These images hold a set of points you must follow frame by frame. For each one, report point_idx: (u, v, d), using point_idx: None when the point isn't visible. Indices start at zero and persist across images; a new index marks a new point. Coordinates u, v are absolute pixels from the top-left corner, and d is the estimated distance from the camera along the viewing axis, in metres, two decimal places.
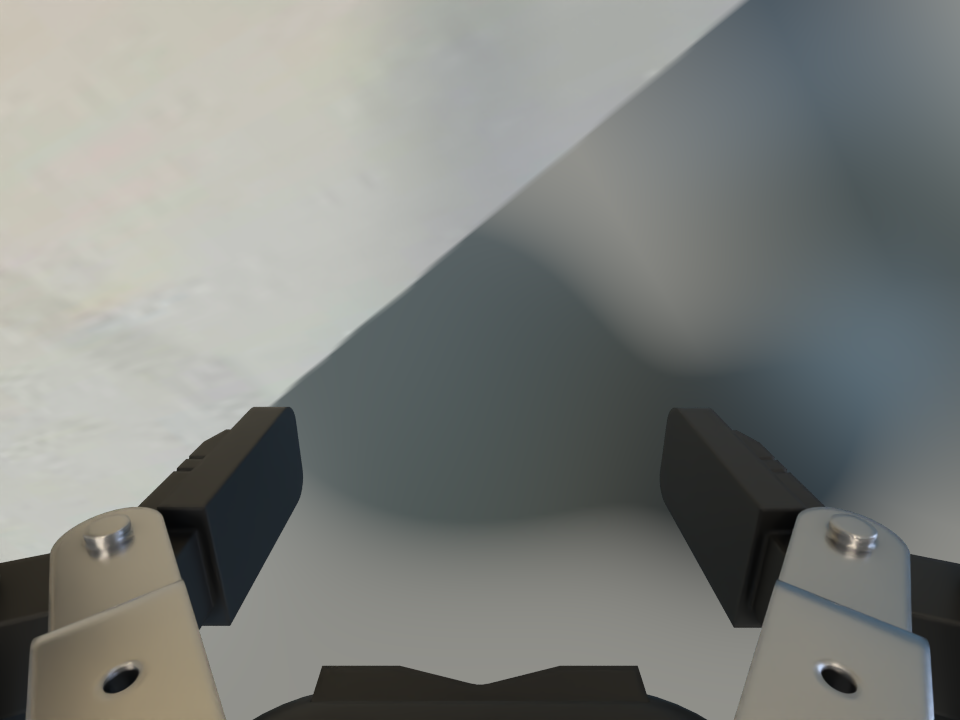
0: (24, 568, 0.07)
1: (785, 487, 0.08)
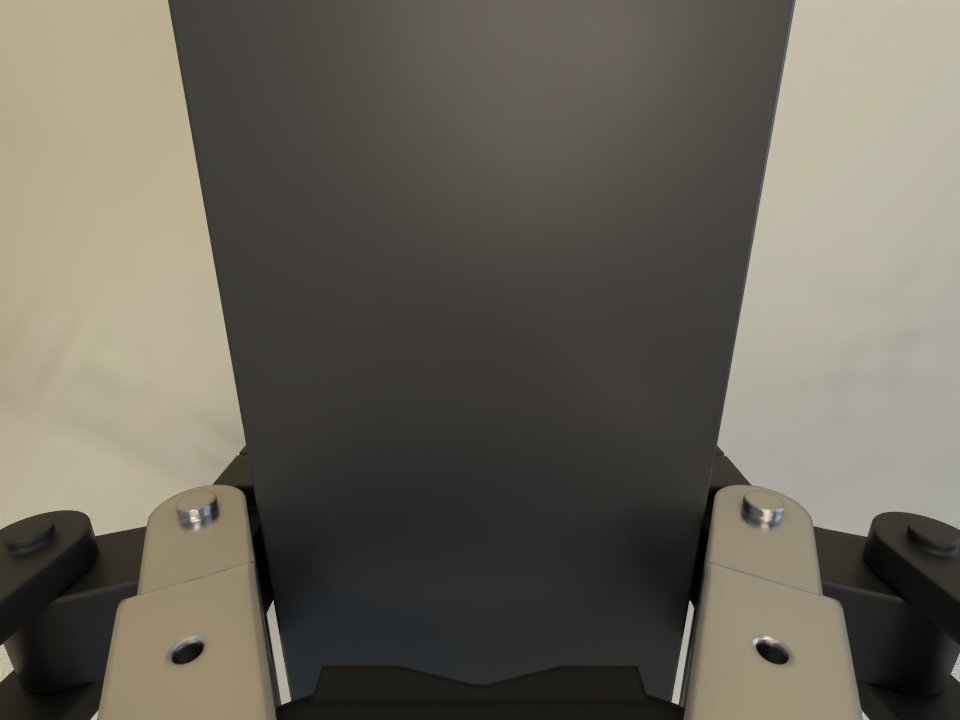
0: (117, 540, 0.07)
1: (713, 468, 0.08)
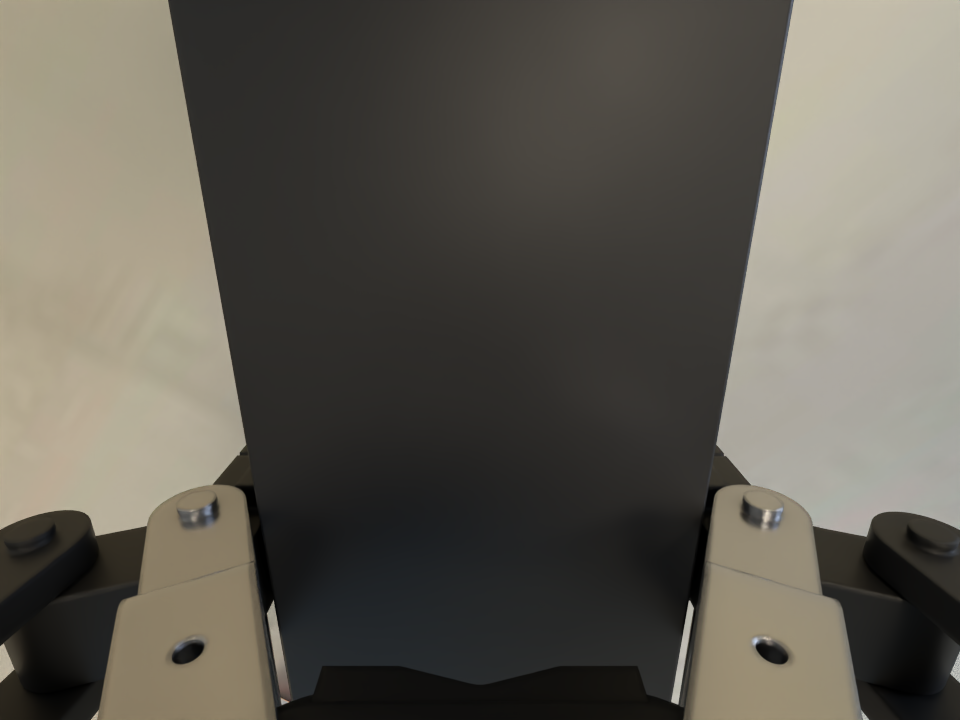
0: (117, 540, 0.07)
1: (712, 468, 0.08)
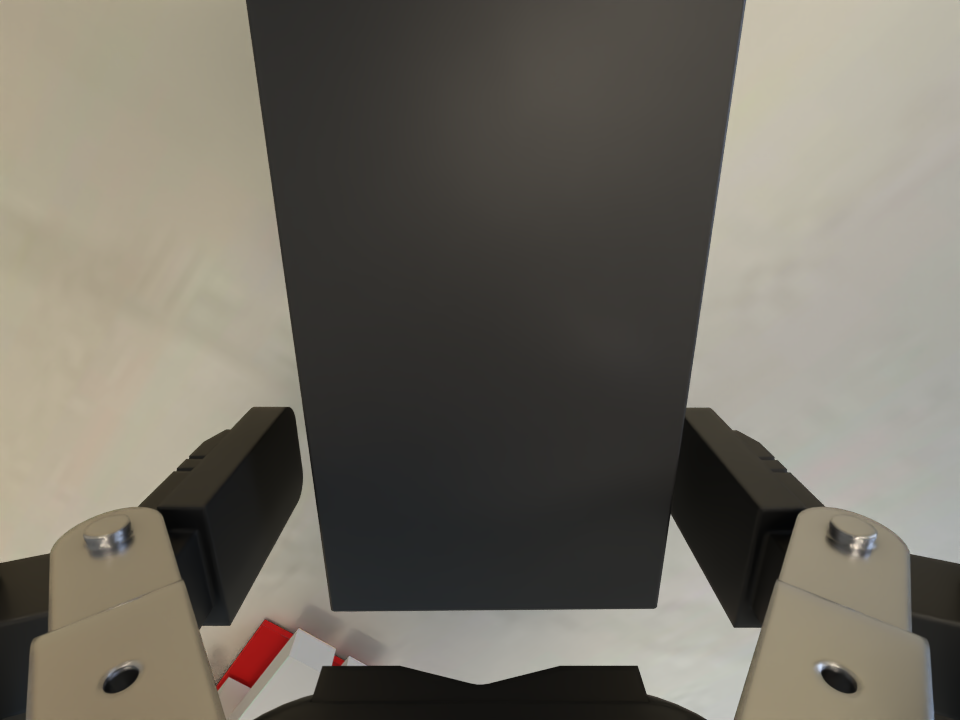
0: (24, 567, 0.07)
1: (785, 487, 0.08)
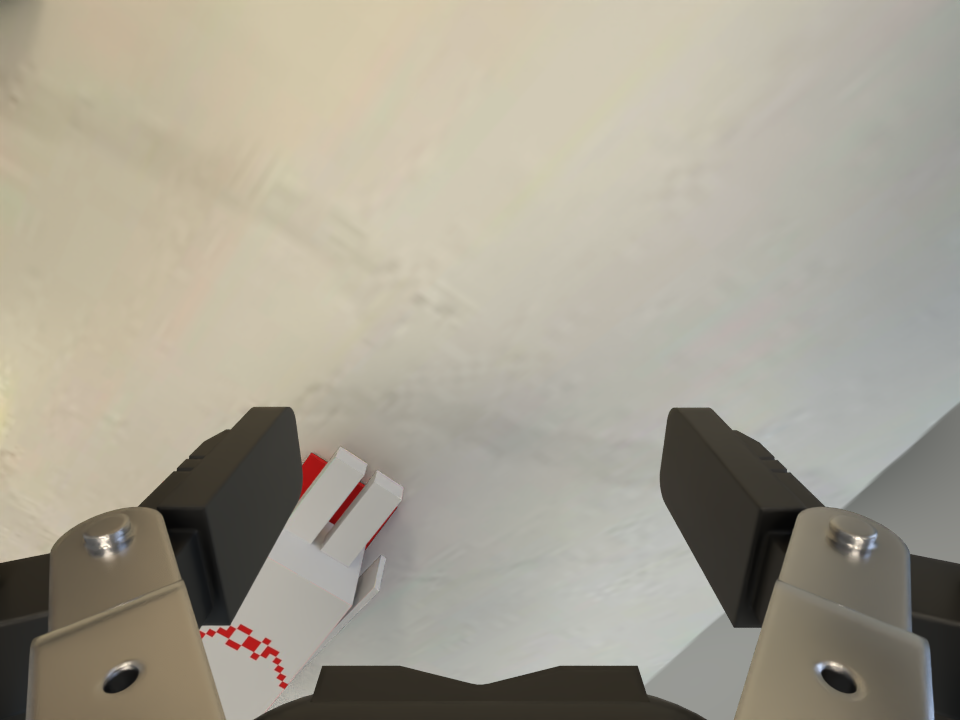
0: (24, 568, 0.07)
1: (785, 487, 0.08)
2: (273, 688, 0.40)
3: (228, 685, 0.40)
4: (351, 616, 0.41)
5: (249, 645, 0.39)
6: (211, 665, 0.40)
